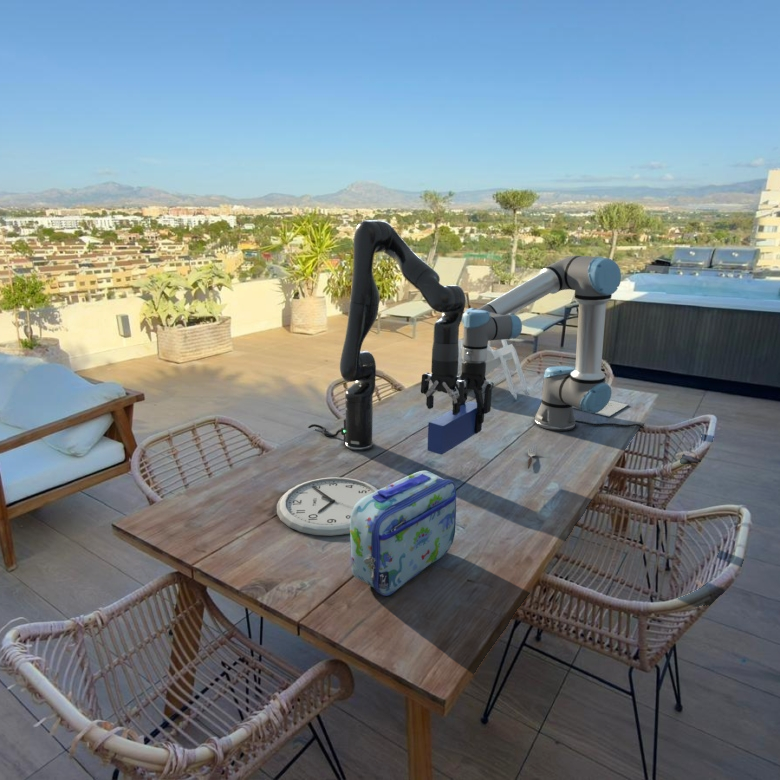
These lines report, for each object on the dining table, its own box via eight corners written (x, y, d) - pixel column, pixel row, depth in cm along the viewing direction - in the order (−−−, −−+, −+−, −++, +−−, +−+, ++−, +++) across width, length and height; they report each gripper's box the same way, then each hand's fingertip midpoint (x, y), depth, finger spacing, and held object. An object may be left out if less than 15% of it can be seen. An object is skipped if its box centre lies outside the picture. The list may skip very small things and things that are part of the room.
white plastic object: (461, 429, 252) (437, 405, 227) (444, 352, 274) (420, 323, 250) (535, 404, 240) (518, 377, 215) (510, 326, 262) (492, 293, 237)
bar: (468, 426, 174) (469, 400, 171) (481, 430, 171) (483, 404, 168) (427, 450, 155) (428, 422, 152) (441, 455, 152) (443, 426, 149)
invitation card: (608, 416, 214) (573, 407, 224) (608, 416, 214) (573, 408, 224) (628, 404, 229) (594, 396, 238) (628, 405, 229) (594, 397, 238)
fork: (523, 469, 166) (524, 463, 165) (529, 450, 180) (529, 445, 179) (532, 470, 165) (532, 464, 164) (536, 451, 179) (537, 446, 179)
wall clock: (392, 527, 129) (268, 531, 127) (391, 533, 130) (269, 537, 127) (383, 473, 158) (282, 475, 155) (383, 478, 158) (282, 480, 156)
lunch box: (378, 608, 104) (379, 516, 98) (343, 583, 112) (342, 495, 105) (459, 554, 122) (465, 473, 116) (425, 535, 129) (428, 458, 123)
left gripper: (416, 355, 149) (415, 409, 154) (460, 363, 141) (457, 420, 146) (431, 351, 155) (429, 403, 160) (473, 358, 147) (470, 413, 151)
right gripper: (442, 358, 165) (439, 426, 172) (495, 367, 155) (489, 440, 162) (454, 353, 171) (451, 420, 178) (506, 362, 160) (500, 433, 167)
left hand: (442, 411), depth 153 cm, fingers open, 8 cm apart
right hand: (469, 429), depth 170 cm, fingers closed on bar, 5 cm apart
